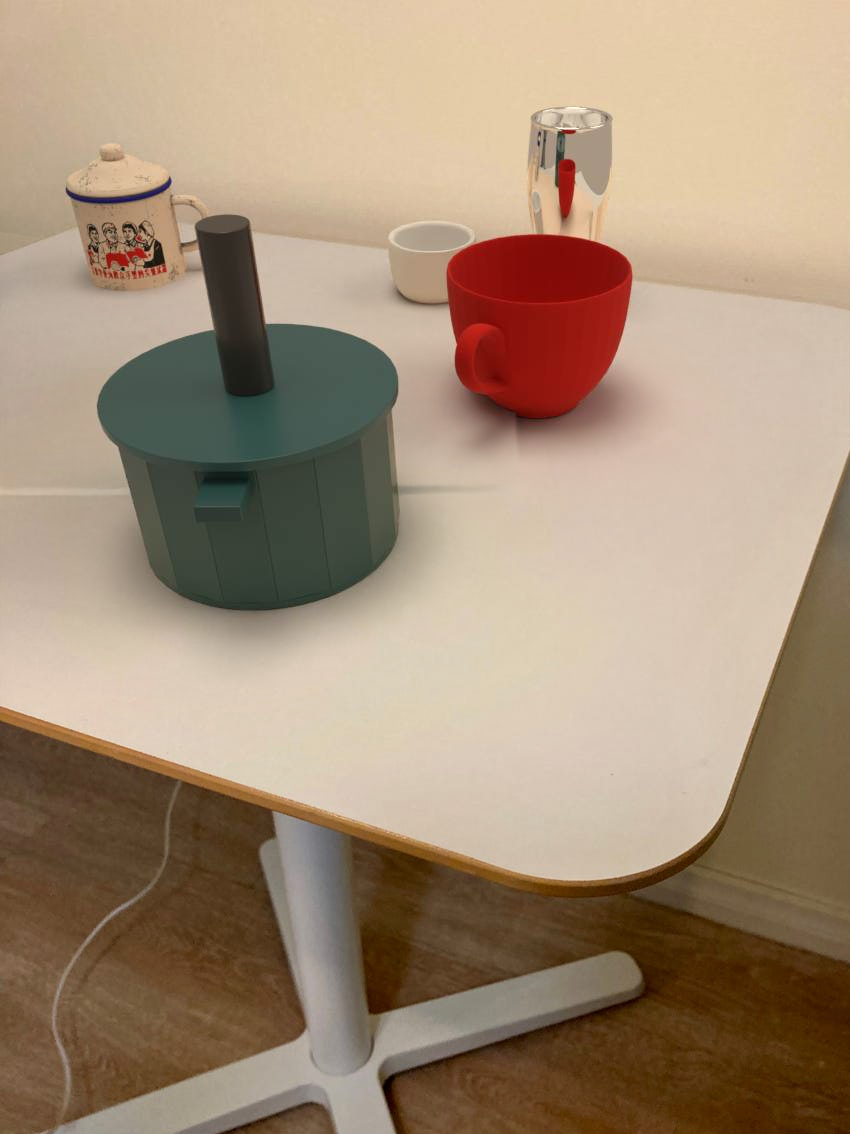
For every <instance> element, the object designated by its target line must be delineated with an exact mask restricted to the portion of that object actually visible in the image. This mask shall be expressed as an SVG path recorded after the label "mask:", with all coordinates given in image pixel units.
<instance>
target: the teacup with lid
mask: <svg viewBox="0 0 850 1134" xmlns="http://www.w3.org/2000/svg"><path fill="white" fill-rule="evenodd" d="M98 151H99V157H97V158H95V159H93V160H92V161H90V162H89V163H88V164H87V165H86V166H85V167H83V168H80V169H78V170H75V172H73V173H72V174H70V175H69V176H68V178H67V179H66V182H65V193H66V195H67V196H68V197H69V198H70V201H71V206H72V209H73V213H74V218H75V221H76V225H77V229H78V233H79V236H80V241H81V245H82V248H83V251H84V257H85V259H86V264H87V267H88V271H89V276H90V278H91V281H92V283H93V284H94V285H95V286H97V287H99V288H101V289H103V290H109V291H115V292H116V291H117V292H135V291H143V290H151V289H155V288H159V287H162V286H165V285H168V284H171V283H173V282H175V281H177V280H178V279H180V278H181V277H182V276H184V274H185V273H186V271H187V266H186V261H185V256H184V253H185V254H186V253H192V252H195V251H197V250H199V248H198V243H197V238H196V239H194V240H191V241H186V242H182V240H181V236H180V235H181V234H180V231H179V225H178V220H177V215H176V209H175V206H180V205H181V206H184V205H185V206H189V207H192V208H194V209H195V210H196V211H197V212H198V213H199V215H200V216H201V219H204V218H207V217H210V216H211V213H210V210H209V208H208V206H207V205H206V204H205V203H204V202H203V200H201V199H199V198H198V197H196V196H194V195H190V194H183V193H182V194H172V189H171V185H172V177H171V176H170V174H169V172H168V171H167V169H166V168H165V167H163V166H162V165H160V164H157V163H154V162H150V161H144V160H141V159H140V158H138V157H136V156H133V155H130V154H125V151H124V148H123V146H122V145H121V144H119V143H114V142H113V143H111V142H110V143H105V144H102V145H101V146H100V147H99V150H98Z"/></svg>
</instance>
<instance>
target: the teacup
mask: <svg viewBox="0 0 850 1134" xmlns="http://www.w3.org/2000/svg"><path fill="white" fill-rule="evenodd" d="M387 237H388V238H387V252H388V253H387V254H388V260H389V266H390V273H391V275H392V280H393V282H394V284H395V286H396V288H397V290H398V291H399V292H400V293H401V295H403V297H405V298H406V299H407V300H410V301H411V302H415V303H420V304H431V305H432V304H433V305H434V304H435V305H436V304H445V303H449V301H448V292H447V279H446V271H447V266H448V263H449V261H450V260H451V259H452V257H453V256H454V255H456V254H457V253H458V252H459V251H461V250H463V249H465V248H467V247H469V246H471V245H474V244H477V243H478V242H477V235H476V233H475V231H474V230H473V229H472V228H470V227H468V226H467V225H464V224H461V223H457V222H452V221H446V220H421V221H414V222H409V223H405V224H402V225H400V226H398V227H396V228H393V230H391V231H390V232H389V234H388V236H387Z"/></svg>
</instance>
